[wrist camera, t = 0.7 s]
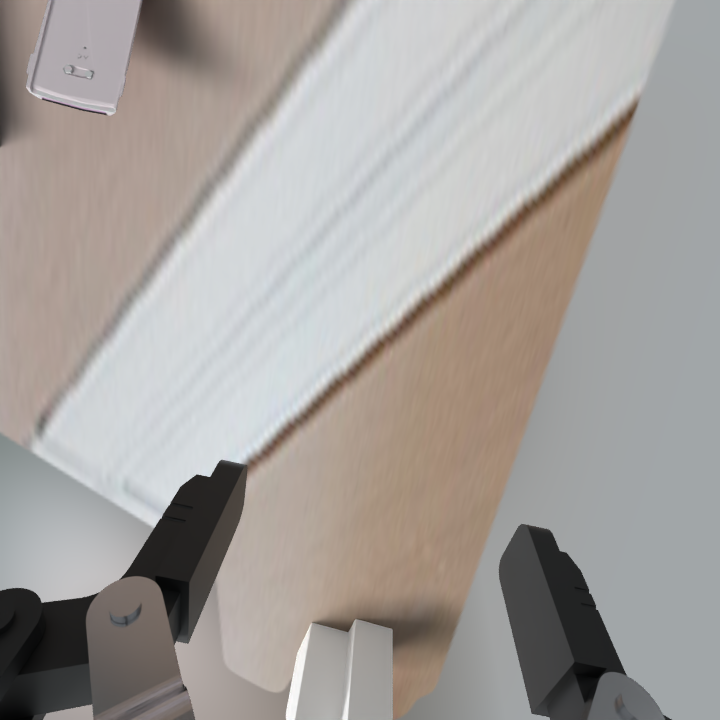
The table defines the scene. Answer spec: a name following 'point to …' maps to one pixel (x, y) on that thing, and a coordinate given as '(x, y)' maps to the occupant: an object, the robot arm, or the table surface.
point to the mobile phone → (84, 53)
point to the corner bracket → (343, 674)
